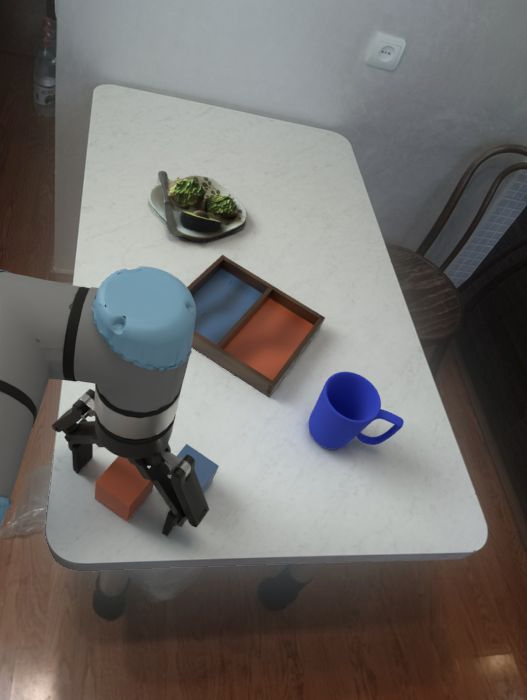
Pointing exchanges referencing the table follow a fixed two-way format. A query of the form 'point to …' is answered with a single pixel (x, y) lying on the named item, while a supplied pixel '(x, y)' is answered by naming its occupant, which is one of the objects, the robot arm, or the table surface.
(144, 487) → the terracotta block
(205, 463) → the blue block
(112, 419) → the robot arm
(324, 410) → the mug
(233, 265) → the tray
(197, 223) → the salad plate
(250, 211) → the table surface
